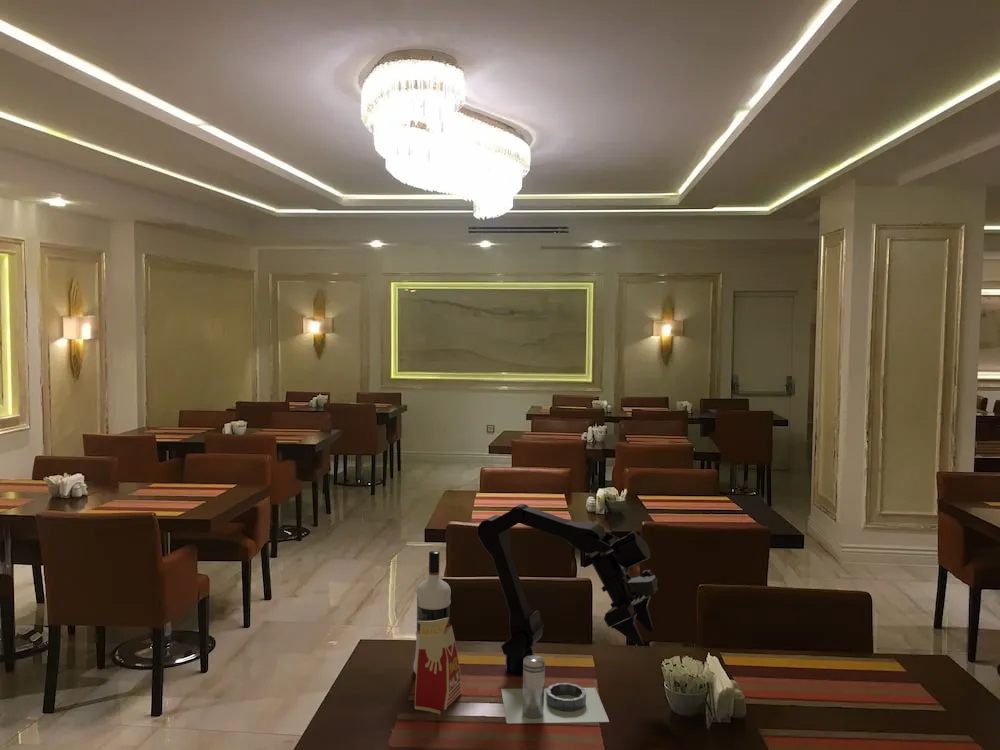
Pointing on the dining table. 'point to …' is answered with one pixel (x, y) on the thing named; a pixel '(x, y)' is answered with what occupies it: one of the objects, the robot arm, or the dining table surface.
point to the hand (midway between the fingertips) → (646, 638)
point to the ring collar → (566, 704)
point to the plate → (588, 714)
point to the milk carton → (437, 667)
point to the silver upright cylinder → (533, 687)
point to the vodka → (431, 598)
